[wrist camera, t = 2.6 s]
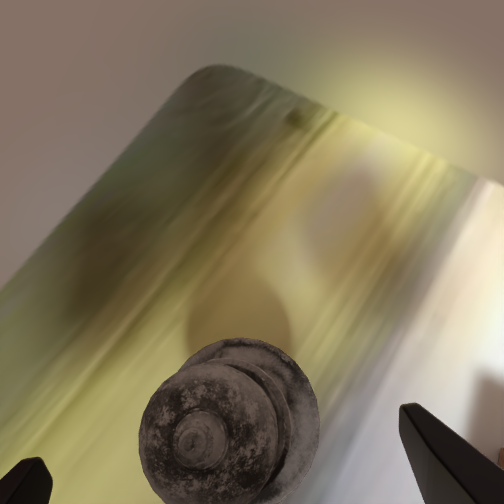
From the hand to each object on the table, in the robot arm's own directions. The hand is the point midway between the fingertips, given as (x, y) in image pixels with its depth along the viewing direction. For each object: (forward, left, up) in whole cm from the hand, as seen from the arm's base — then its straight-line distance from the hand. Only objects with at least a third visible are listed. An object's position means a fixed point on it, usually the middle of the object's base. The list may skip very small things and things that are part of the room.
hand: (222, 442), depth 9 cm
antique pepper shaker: (0, 0, -8) cm, 8 cm away
